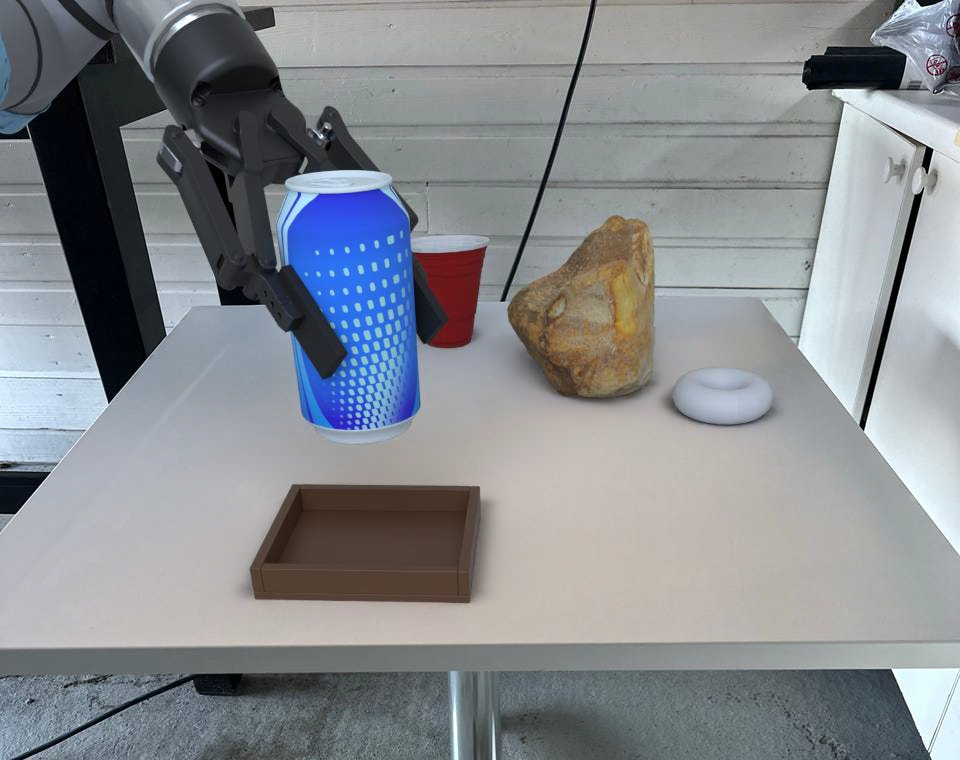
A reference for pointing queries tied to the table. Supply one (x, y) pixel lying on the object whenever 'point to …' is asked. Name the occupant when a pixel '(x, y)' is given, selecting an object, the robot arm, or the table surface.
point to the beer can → (355, 301)
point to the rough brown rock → (594, 314)
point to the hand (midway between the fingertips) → (387, 348)
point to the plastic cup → (453, 281)
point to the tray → (371, 544)
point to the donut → (722, 395)
